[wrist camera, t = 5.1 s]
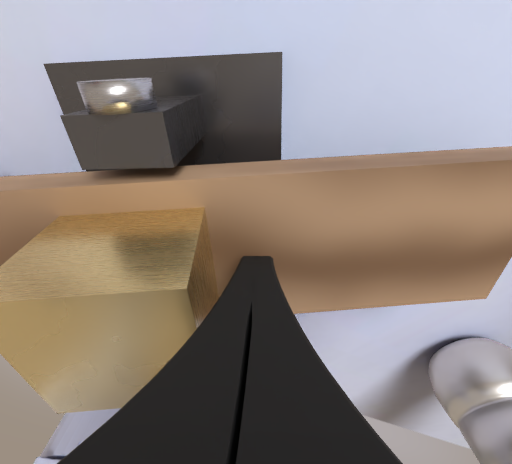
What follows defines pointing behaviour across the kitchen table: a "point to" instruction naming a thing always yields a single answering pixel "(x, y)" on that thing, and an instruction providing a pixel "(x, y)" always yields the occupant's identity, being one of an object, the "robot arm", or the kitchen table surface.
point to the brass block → (105, 303)
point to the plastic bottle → (477, 394)
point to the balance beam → (313, 220)
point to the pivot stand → (171, 110)
